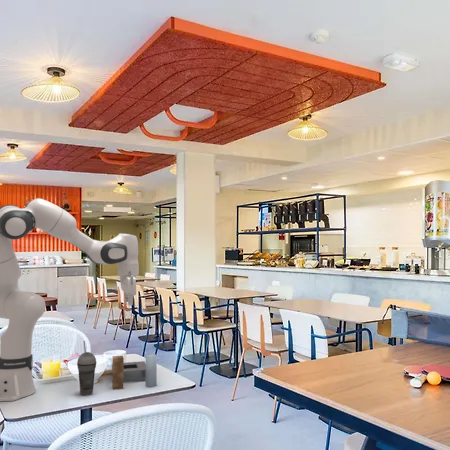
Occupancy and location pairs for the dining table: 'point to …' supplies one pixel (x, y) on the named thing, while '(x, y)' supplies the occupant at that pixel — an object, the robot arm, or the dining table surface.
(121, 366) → the square peg
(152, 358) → the round peg
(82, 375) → the beverage cup
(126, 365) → the bore block
